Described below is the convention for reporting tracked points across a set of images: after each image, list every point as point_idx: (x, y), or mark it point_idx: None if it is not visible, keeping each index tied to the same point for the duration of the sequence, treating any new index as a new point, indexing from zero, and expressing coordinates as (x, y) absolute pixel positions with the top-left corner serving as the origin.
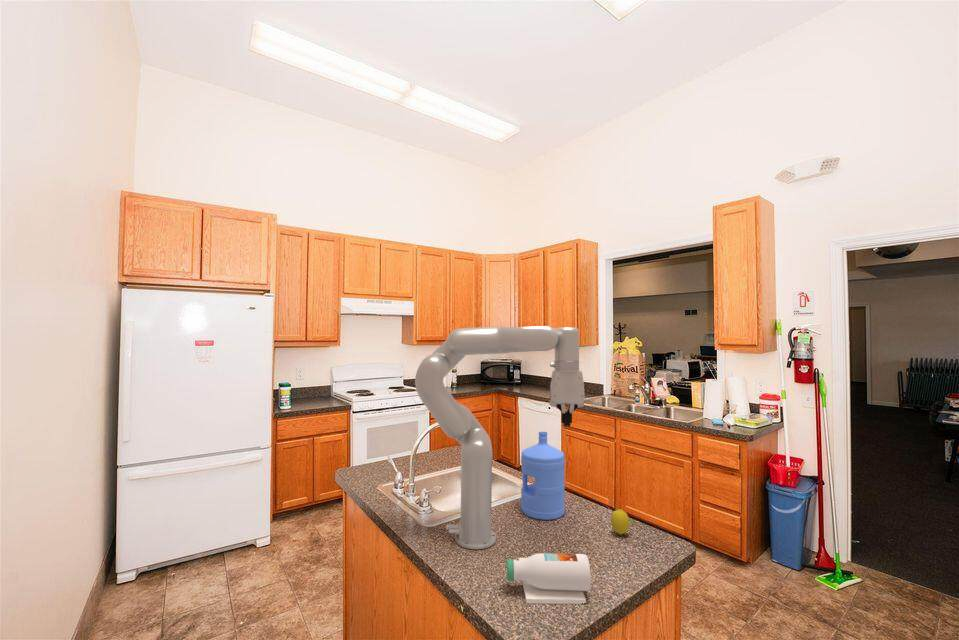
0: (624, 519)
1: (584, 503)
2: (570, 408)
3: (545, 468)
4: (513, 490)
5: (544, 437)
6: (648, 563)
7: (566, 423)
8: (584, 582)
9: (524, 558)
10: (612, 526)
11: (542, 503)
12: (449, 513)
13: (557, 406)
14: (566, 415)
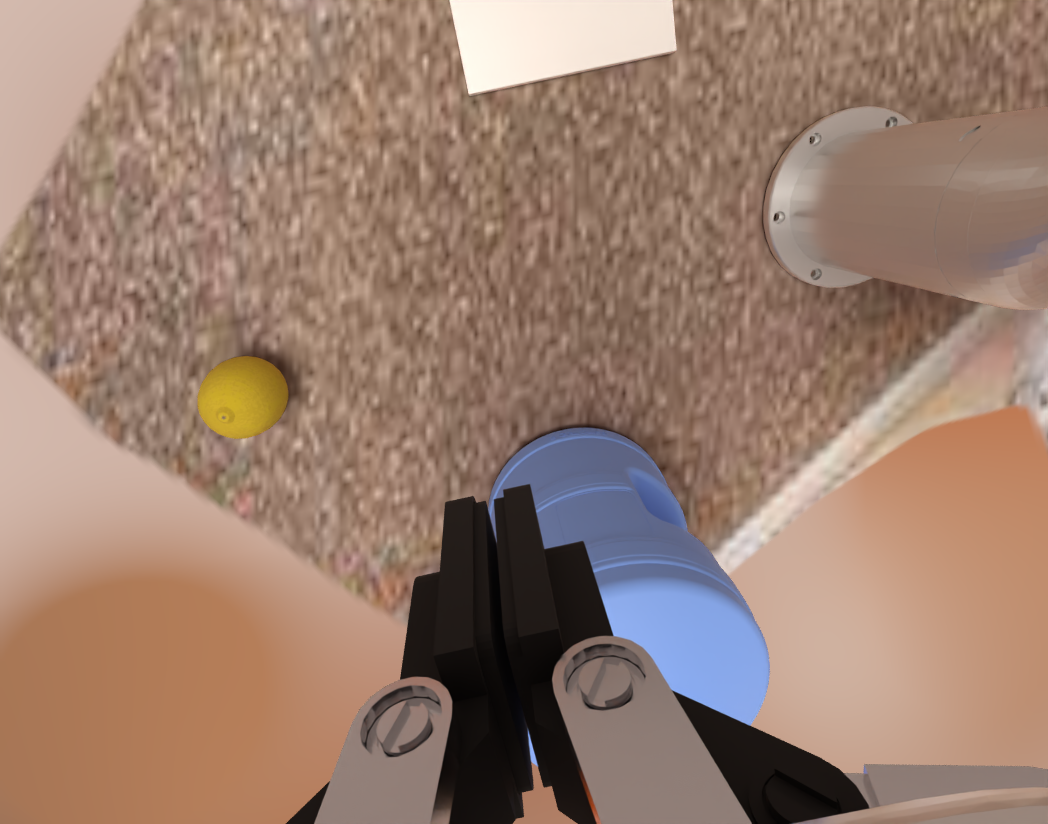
0: (214, 375)
1: (409, 610)
2: (422, 788)
3: (612, 547)
4: None
5: None
6: (144, 157)
7: (513, 507)
8: None
9: (652, 48)
10: (283, 378)
11: (589, 455)
12: (944, 399)
13: (836, 784)
14: (525, 602)
